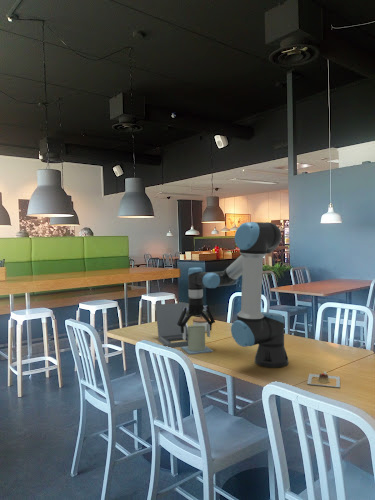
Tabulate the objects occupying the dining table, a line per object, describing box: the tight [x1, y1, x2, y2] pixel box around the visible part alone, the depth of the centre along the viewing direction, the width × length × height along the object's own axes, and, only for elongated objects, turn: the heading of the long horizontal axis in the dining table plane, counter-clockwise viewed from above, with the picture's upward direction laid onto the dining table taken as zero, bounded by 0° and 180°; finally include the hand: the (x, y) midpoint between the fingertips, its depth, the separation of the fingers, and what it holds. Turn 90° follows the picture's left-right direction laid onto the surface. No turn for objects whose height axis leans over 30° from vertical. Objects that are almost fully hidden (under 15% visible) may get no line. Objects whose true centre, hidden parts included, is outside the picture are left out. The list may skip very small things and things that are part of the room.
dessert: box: [306, 370, 341, 388], centre depth 160 cm, size 12×12×5 cm
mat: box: [180, 345, 214, 355], centre depth 208 cm, size 13×13×1 cm
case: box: [155, 302, 189, 349], centre depth 226 cm, size 23×18×20 cm
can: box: [188, 324, 206, 351], centre depth 208 cm, size 9×9×12 cm
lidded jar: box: [192, 316, 211, 333], centre depth 250 cm, size 11×11×9 cm
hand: (196, 337), depth 208 cm, fingers open, 13 cm apart
